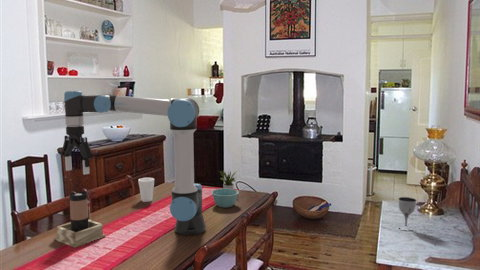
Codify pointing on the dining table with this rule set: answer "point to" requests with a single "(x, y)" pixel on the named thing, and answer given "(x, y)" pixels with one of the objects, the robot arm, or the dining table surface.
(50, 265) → the dining table surface
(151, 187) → the foam cup
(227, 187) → the house plant
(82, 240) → the caddy
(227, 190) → the bowl
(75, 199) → the travel mug
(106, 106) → the robot arm
